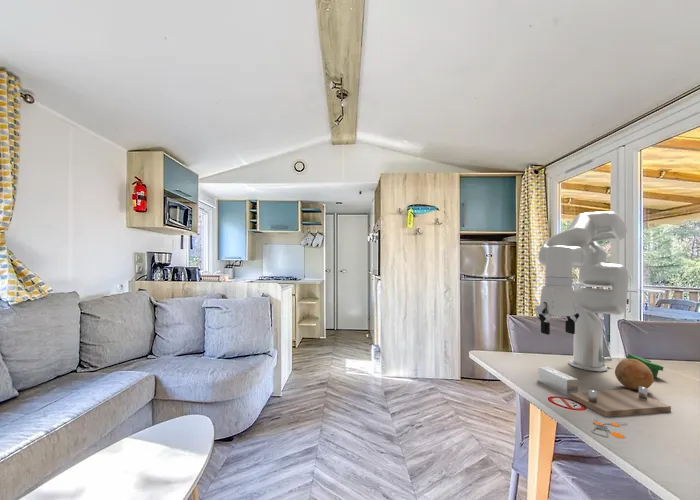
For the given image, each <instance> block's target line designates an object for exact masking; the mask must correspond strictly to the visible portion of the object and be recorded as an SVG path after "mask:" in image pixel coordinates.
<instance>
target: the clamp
mask: <svg viewBox="0 0 700 500" xmlns="http://www.w3.org/2000/svg"><path fill="white" fill-rule="evenodd" d="M626 359H635V360H638V361H640V362H642V363H644V364H645V365H646V366H647V367H648V368H649V369H650V370H651V372H652V374H653V378H657V377H658V375H659V372H660V371H662V372H663V371H664V368H665V367H664V366H662V365H660V364H657V363H653V362H652V361H651V360H649V359H647V358H644V357H639V356H637V355H634V354H631V353H630V354H629V353H628V354H627V356H626Z"/></svg>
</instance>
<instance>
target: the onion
mask: <svg viewBox="0 0 700 500" xmlns="http://www.w3.org/2000/svg"><path fill="white" fill-rule="evenodd" d="M614 375H615V378H616V379H617V381H618V382H619V383H620V384H622V385H623V386H624V387H626V389H629V390H632V391H633V390H634V391H639V386H641V387H646V388H647V389H648V388H650V387H651V386H652V384H654V378H655V377H654V376H653V374H652V372H651V370H650V369H649V368H648V367H647V366H646V365H645V364H644V363H642V362H640V361H638V360H635V359H627V358H624V359H622V360H620V361H619V362H618V363H617V365H616V367H615V369H614Z"/></svg>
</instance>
